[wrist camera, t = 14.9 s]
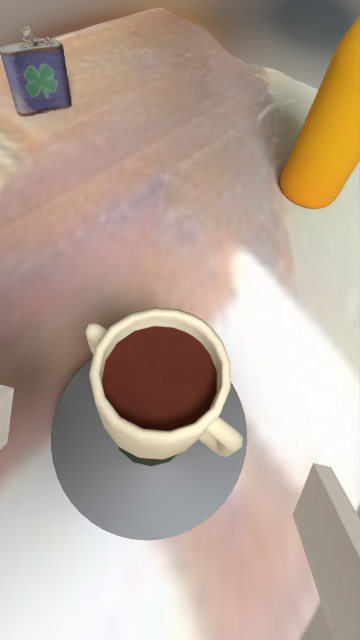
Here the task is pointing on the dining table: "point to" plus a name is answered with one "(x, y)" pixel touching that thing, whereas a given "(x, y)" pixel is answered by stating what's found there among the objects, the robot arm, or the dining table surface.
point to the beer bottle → (328, 132)
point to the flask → (36, 74)
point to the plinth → (138, 471)
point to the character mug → (161, 385)
